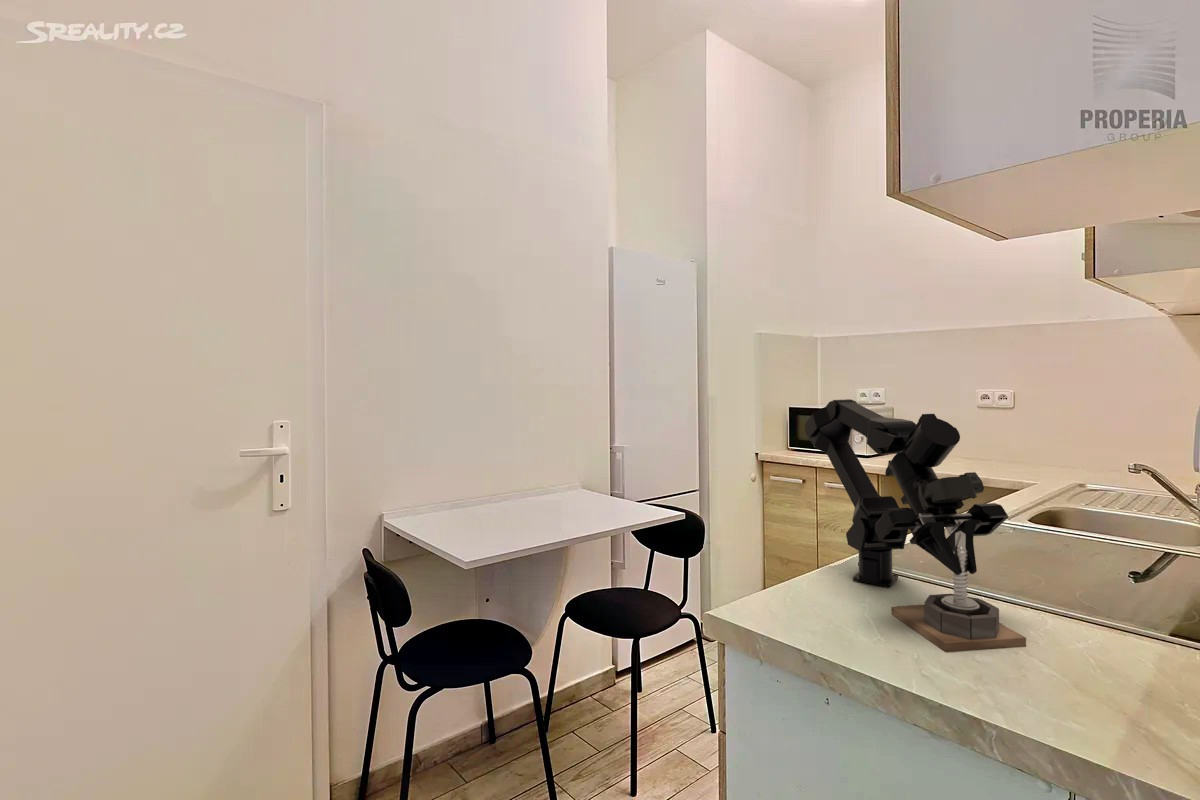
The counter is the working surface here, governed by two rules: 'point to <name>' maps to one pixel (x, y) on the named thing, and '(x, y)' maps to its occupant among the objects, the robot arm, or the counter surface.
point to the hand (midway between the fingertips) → (966, 573)
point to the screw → (960, 582)
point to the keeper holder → (958, 625)
